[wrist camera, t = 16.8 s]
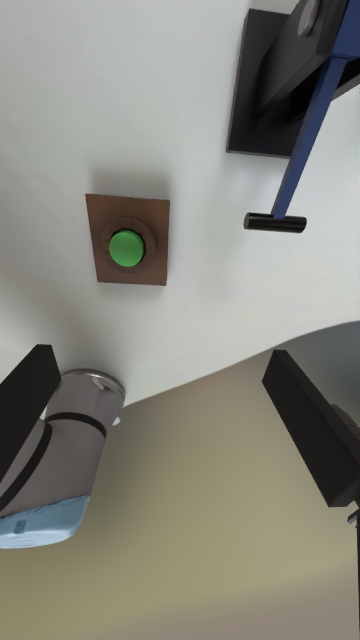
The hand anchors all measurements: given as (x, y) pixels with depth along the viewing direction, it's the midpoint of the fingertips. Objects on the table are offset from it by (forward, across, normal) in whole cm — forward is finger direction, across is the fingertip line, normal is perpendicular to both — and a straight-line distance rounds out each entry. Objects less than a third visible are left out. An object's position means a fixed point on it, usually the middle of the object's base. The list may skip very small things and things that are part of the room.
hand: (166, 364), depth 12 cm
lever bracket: (+21, -11, -19) cm, 31 cm away
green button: (+18, +5, -3) cm, 19 cm away
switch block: (+22, +5, -3) cm, 23 cm away
